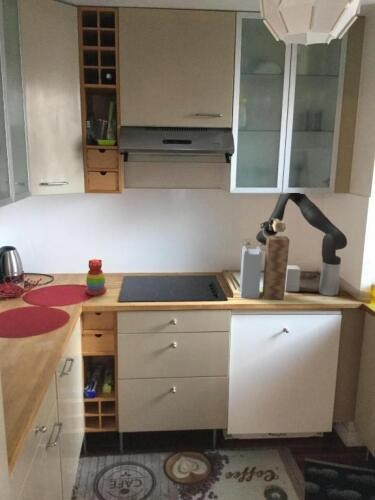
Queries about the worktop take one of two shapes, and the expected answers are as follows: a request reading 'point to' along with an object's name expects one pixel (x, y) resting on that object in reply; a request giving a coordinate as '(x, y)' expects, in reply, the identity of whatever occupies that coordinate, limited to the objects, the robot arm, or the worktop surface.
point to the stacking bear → (95, 278)
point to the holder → (250, 272)
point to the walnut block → (275, 267)
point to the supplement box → (292, 278)
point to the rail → (278, 225)
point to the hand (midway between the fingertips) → (276, 221)
